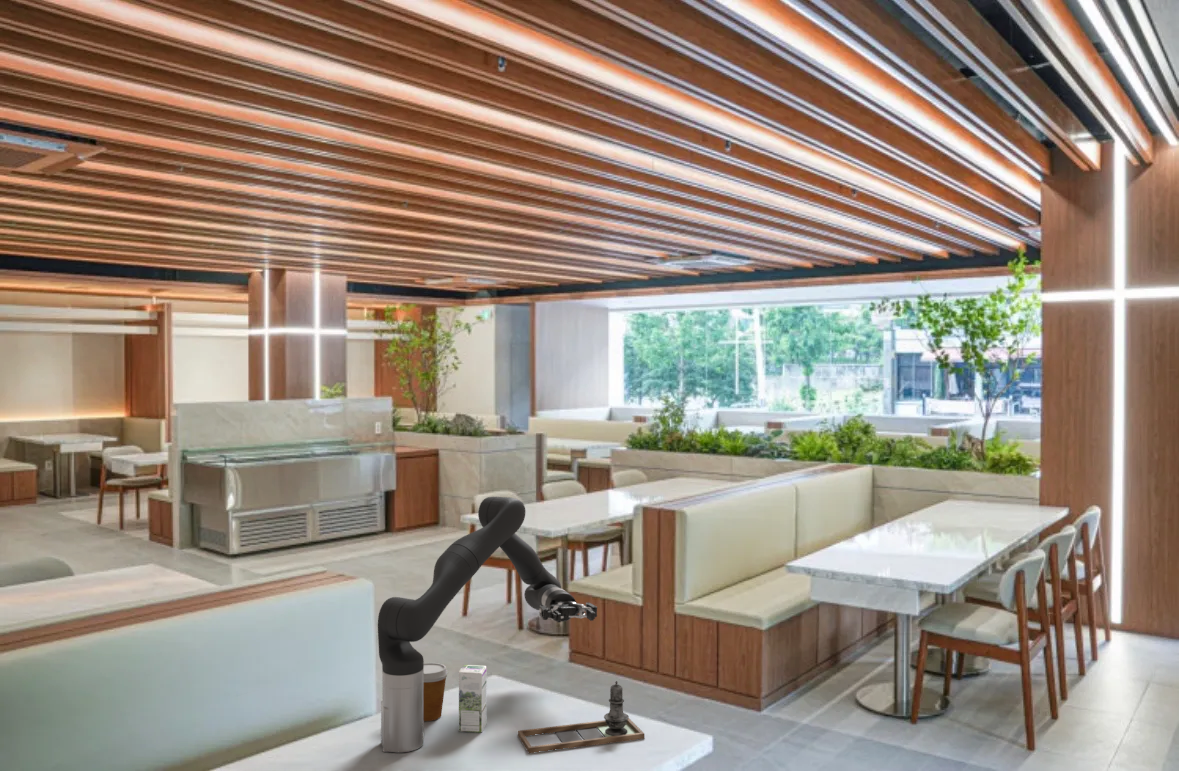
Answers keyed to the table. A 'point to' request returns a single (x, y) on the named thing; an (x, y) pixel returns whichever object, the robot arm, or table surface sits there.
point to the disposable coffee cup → (433, 690)
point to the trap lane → (574, 740)
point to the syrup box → (472, 698)
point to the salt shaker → (616, 713)
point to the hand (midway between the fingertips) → (576, 617)
